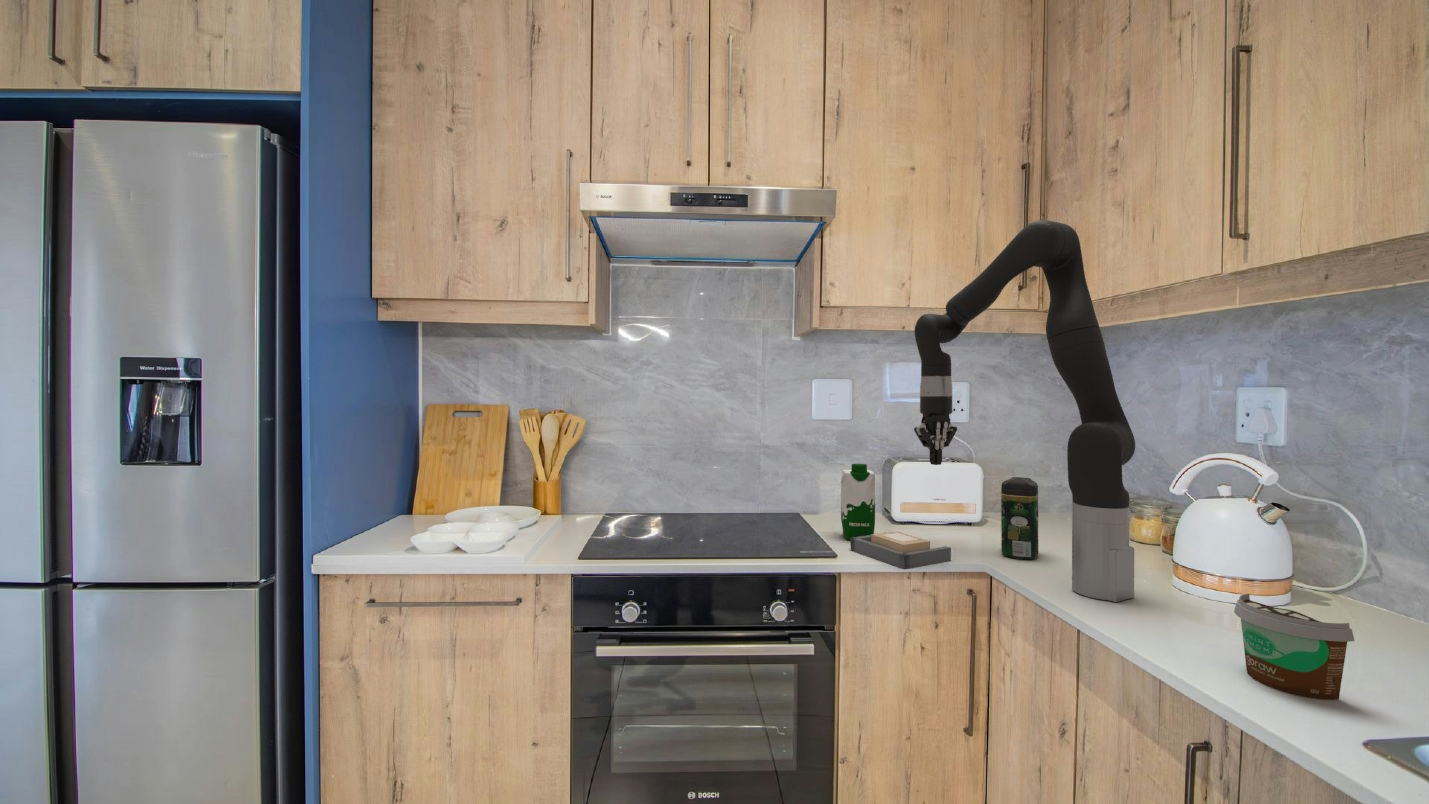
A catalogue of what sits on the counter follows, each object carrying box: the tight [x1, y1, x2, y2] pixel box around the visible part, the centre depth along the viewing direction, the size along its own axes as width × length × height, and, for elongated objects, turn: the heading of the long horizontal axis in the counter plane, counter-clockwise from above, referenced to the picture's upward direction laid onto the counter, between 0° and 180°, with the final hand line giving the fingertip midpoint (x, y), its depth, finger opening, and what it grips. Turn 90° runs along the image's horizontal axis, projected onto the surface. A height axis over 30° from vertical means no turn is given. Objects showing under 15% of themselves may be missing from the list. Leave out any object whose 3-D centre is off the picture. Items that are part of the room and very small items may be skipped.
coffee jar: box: [1000, 476, 1039, 560], centre depth 141 cm, size 10×8×19 cm
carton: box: [871, 531, 931, 553], centre depth 139 cm, size 11×8×5 cm
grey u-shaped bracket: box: [850, 535, 952, 570], centre depth 141 cm, size 18×14×3 cm
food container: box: [1233, 593, 1355, 701], centre depth 78 cm, size 12×6×10 cm, turn 13°
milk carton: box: [840, 463, 876, 542], centre depth 158 cm, size 9×9×20 cm
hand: (935, 464), depth 146 cm, fingers closed
